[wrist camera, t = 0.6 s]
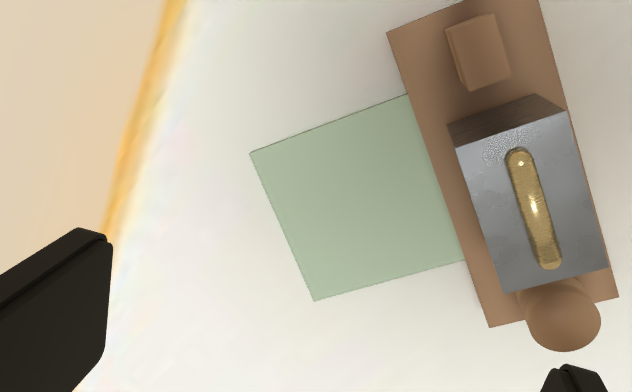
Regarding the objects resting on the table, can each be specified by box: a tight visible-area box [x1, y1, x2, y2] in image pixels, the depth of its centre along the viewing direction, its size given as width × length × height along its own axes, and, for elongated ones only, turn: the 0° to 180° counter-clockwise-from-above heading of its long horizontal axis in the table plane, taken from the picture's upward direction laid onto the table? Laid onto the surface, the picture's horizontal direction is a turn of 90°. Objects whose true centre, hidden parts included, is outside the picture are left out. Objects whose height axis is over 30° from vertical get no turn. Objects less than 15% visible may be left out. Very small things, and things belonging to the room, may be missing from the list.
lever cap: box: [446, 93, 610, 294], centre depth 27 cm, size 5×8×7 cm, turn 22°
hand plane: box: [386, 0, 619, 352], centre depth 30 cm, size 8×20×8 cm, turn 22°
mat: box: [249, 94, 465, 301], centre depth 36 cm, size 12×12×1 cm
